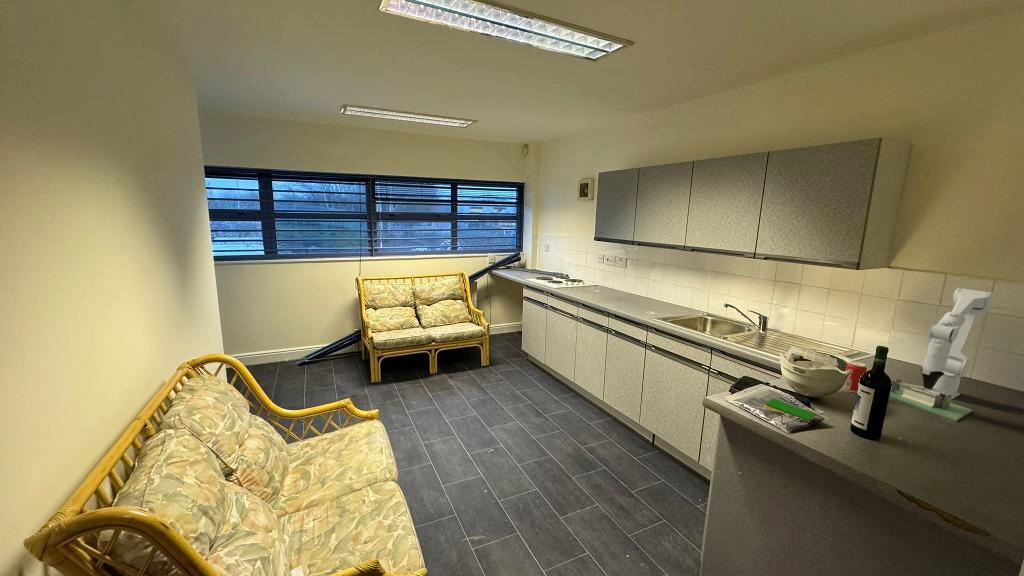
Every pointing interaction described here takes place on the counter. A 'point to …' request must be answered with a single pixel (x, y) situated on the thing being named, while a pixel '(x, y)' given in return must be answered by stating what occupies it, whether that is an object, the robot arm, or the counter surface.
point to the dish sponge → (789, 409)
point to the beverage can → (854, 375)
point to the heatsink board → (928, 401)
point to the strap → (921, 387)
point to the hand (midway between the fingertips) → (927, 387)
